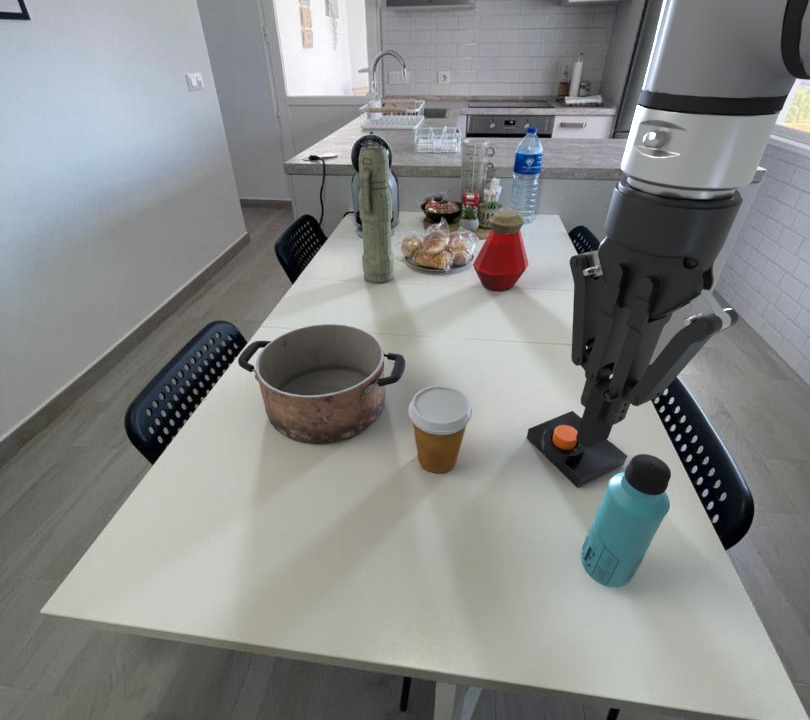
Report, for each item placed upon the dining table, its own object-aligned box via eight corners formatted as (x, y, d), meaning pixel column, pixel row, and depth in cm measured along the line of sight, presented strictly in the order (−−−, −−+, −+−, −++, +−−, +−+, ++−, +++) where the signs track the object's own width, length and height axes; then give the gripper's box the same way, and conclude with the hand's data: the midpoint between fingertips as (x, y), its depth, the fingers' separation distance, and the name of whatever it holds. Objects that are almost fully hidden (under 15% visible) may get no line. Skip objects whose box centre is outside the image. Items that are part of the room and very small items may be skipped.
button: (580, 445, 71) (583, 436, 70) (563, 453, 69) (566, 444, 68) (564, 431, 73) (567, 422, 72) (547, 438, 72) (549, 429, 71)
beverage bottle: (640, 589, 56) (703, 484, 44) (593, 602, 54) (645, 497, 43) (609, 543, 61) (659, 438, 49) (565, 553, 60) (605, 448, 48)
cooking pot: (225, 433, 78) (209, 386, 72) (277, 361, 96) (268, 317, 90) (392, 456, 74) (390, 407, 68) (414, 375, 92) (414, 330, 85)
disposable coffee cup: (478, 457, 73) (485, 402, 67) (441, 492, 68) (444, 435, 61) (434, 429, 79) (436, 375, 72) (396, 459, 73) (395, 404, 66)
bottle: (503, 269, 134) (512, 201, 122) (536, 286, 124) (549, 215, 113) (461, 281, 127) (466, 210, 116) (491, 300, 118) (500, 225, 106)
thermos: (357, 284, 126) (347, 150, 106) (370, 267, 136) (363, 141, 115) (387, 287, 125) (383, 151, 104) (398, 270, 134) (396, 142, 114)
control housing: (623, 465, 72) (630, 447, 70) (571, 491, 68) (576, 473, 66) (569, 419, 81) (574, 402, 78) (520, 440, 77) (523, 423, 74)
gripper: (563, 168, 32) (517, 410, 46) (746, 220, 23) (619, 504, 37) (635, 157, 35) (570, 388, 49) (823, 200, 26) (678, 471, 40)
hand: (591, 438), depth 43 cm, fingers closed
